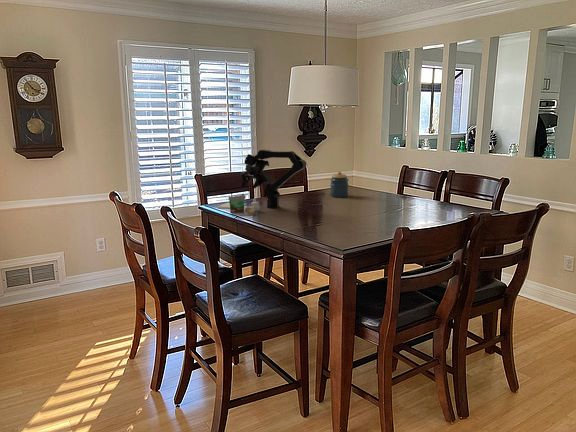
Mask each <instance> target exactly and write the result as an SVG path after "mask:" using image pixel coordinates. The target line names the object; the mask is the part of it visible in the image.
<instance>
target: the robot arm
mask: <svg viewBox="0 0 576 432" xmlns="http://www.w3.org/2000/svg"><path fill="white" fill-rule="evenodd" d="M270 158H271V159H273V158H275V159H276V158H279V159H281V158H283V159H285V158H286V159H289V160H290V162H291V163H292V164H293V165H292V166H291V167H290V168H289V170H288V171H286V172H285V173H284V174H283V175H281V177H279V178H278V179H277V180H276V181H275V182H274V181H272V182H269V183H268V184H267V185H266V186H265V188H264V190H263V192H264V194H265V196H266V199H267V202H266V203H267V204H266V208H267V209H278V208H280V207H281V206H280V195H281V193H280V192H279V189H280V187H282V186H283V185H284V184H285V183H286V182H287V181H288V180H289V179H291V178H292V177H293V176H294V175H296V174H297V173H298V172H301V171H302V170H304V169H305V168H307V162H306V160H305V159H303V158H301V157H300V156H299V155H298V154H296V152H295V151H293V150H290V151H283V150H282V151H281V150H280V151H275V150H274V151H273V150H270V149H265V148H264V149H259V150H258V151H257V154H255V155H253V154H250V153H249V154H247V155H246V156H245V159H244V165H246V166H245V168H244V171H245V172H243V171H241V172H240V173H239V177H240V178H241V184H240V187H241V188H242V189H243V188H244V187H245V186H246V185H247V184H248V183H249V181H250V180H251V179H254V180H255V181H254V183H253V185H252V188H251V189H252V190H254V189H256V188H258V187H259V186H261V185H264V184H266V183H267V182H268V178H267V176H266V175H265V174H264V172H263V171H264V169H265V167H266V166H267V167H270V162H269V160H268V159H270ZM246 171H247V172H246Z"/></svg>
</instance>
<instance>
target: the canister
mask: <svg viewBox="0 0 576 432" xmlns="http://www.w3.org/2000/svg"><path fill="white" fill-rule="evenodd" d="M329 186H330V194H329V195H330V197H331V196H332V197H333V198H347V197H349V178H348V175H346V174H344V173H342V172H341V171H337V173H335V174H333V175H332V176H331V178H330V185H329Z"/></svg>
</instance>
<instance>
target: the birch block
mask: <svg viewBox="0 0 576 432" xmlns="http://www.w3.org/2000/svg"><path fill="white" fill-rule="evenodd" d="M253 214H254V215H256V212H255V207H254V206H251V205H247V206H244V215H245V216H253Z"/></svg>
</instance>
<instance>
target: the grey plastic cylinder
mask: <svg viewBox="0 0 576 432" xmlns="http://www.w3.org/2000/svg"><path fill="white" fill-rule="evenodd" d="M250 206H254V207H255V213H257V212H260V202H259V201H252V202H250ZM256 211H257V212H256Z"/></svg>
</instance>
